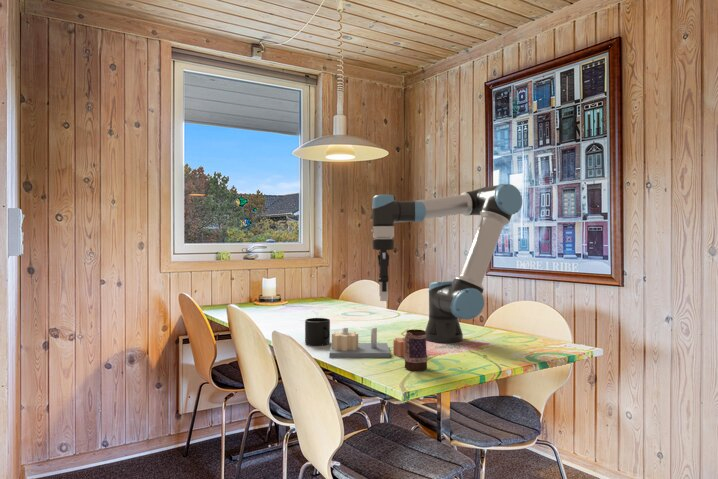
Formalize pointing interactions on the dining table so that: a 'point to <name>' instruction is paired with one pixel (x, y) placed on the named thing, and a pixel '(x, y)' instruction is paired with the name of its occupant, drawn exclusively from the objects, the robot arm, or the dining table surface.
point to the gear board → (356, 345)
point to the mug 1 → (317, 331)
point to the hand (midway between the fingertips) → (383, 298)
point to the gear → (399, 347)
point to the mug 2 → (415, 350)
